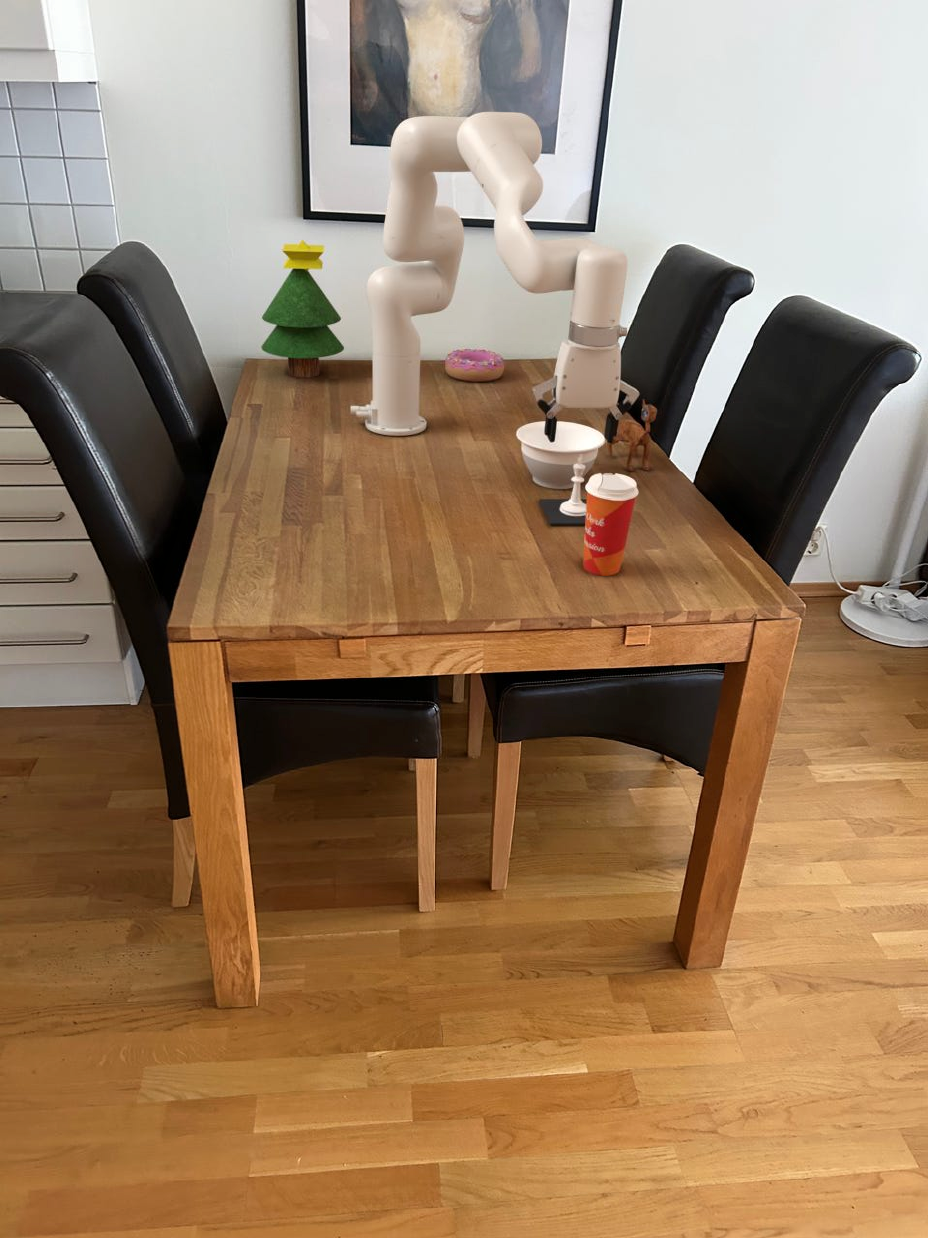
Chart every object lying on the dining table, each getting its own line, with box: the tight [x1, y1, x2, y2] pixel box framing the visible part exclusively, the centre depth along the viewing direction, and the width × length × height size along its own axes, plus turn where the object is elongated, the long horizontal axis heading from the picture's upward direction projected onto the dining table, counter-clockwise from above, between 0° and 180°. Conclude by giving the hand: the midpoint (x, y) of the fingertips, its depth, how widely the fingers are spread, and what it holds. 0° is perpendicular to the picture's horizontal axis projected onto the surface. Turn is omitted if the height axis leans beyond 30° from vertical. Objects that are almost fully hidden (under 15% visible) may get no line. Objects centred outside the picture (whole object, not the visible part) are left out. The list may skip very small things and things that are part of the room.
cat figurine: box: [606, 398, 658, 472], centre depth 180 cm, size 18×7×14 cm, turn 15°
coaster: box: [539, 498, 587, 527], centre depth 159 cm, size 10×10×1 cm
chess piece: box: [560, 454, 586, 516], centre depth 156 cm, size 5×5×10 cm
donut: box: [444, 348, 505, 383], centre depth 227 cm, size 14×14×5 cm
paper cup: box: [582, 472, 639, 577], centre depth 138 cm, size 8×8×14 cm
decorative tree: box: [261, 239, 345, 378], centre depth 216 cm, size 19×19×30 cm
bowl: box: [516, 420, 606, 490], centre depth 170 cm, size 16×16×8 cm
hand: (579, 439), depth 153 cm, fingers open, 9 cm apart
